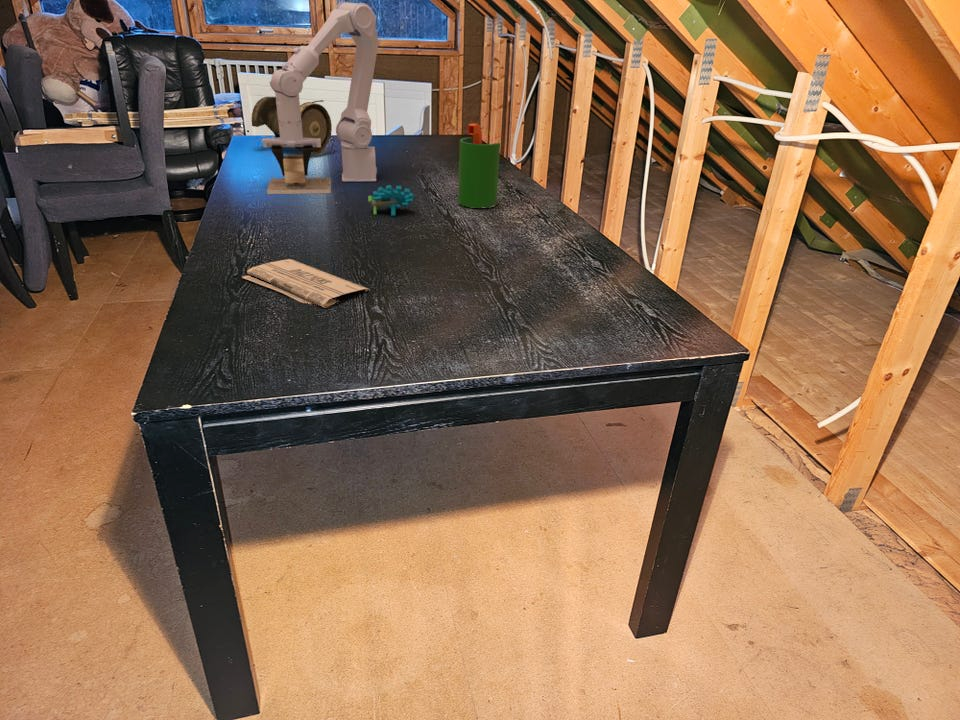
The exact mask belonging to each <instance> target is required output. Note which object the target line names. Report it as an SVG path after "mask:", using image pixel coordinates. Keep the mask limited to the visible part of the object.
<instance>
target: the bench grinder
mask: <svg viewBox="0 0 960 720" xmlns="http://www.w3.org/2000/svg"><path fill="white" fill-rule="evenodd" d="M320 102H321V103H324V100H323V99H322V100H314V101H307V102H304V103H302V104H300V112H301V122H302V133H303V137H305V138H320V139H321V147H313V151H312V154H320V153H322V151H324V150H325V148H327V146H328V145H329V142H330V140H331V136H332V130H333V129H332V119H331V116H330V114H329V112H328V111H327V109H326V108H325V107H324V106H323V105H321V104H319V103H320ZM251 126H252V127H254V128H255V127H256V128H258V127H261V126H266V127H267V128H268V129H269V130H270V131H271V132H272V133H273V134H274V138H278V137H280V132H279V123H278V114H277V105H276V96H264V97H262V98H260V99H259V100H257V102H256V103H255V105H254V106H253V108H252V113H251ZM294 148H295V149H299V150H303V147H294ZM270 150H272V147H270Z"/></svg>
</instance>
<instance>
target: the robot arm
mask: <svg viewBox="0 0 960 720" xmlns="http://www.w3.org/2000/svg"><path fill="white" fill-rule="evenodd" d="M335 7H336V8H334V9H333V10H331V11H330V14H329V16H328V18H327V19H326V21H325V22H324V23H323V25H322V26H321V27H320V29H318V31H317V33H315V35H314V36H313V38H312V39H311V41H310V42H309V44H308V45H300V46H299V47H295V48H294V49H293V50H292V52H293V54H292V56H290V57H289V59H288V60H287V61H286V62H284V63H282V64H281V69H277V70H275V71H274V72H273V73H272V75H271V79H270V81H269V85H270V86H269V87H270V88H271V89H272V91H273V92H274V94H275V97H276V105H277V114H278V123H279V132H280V137H278V138H275V137H263V138H262V140H261V141H262V147H263V148H269V147H270V148H271V147H272V149H271V152H272V154H273V156H274V157H275V159H276V160H277V163H278V165H279V167H280V169H281V174H282V176H283V177H285V173H284V164H283V158H284V155H285V154H284V148H286V147H287V148H289V147H290V148H291V147H292V148H295V147H303V149H302V155H303V157H304V173H305V176H306V177H307V176H308V174H309V173H308V171H309V169H308V168H309V163H310V160H311V159H310V158H311V157H312V154H313V152H312V151H313V147H321V139H320V138H305V137H303V133H302V122H301V112H300V105H301V102H300V93H302V91H303V88H304V86H303V85H304V82H305V81H306V79H307V78H309V76H310V75H311V74H312V72H313V71H314V70H315V69H316V68H317V67H318V65H319V63H320V59H319V56H320V55H321V54H322V53H323V52H324V51H325V50H326V49H327V48H328V47H329V46H330V45H331V44H332V42H334V41H335V40H336V39H337V37H338V36H340V35H342V34H348V35H349V36H350V37H351V39H352V41H353V42H354V44H355V45H356V48H355V54H354V61H353V67H352V74H351V80H350V86H349V93H348V98H347V99H348V100H347V104H346V105H347V106H346V107H345V109H344V110H343V111H342V112H341V114H340V118H339V121H338V122H337V124H336V127H335V133H336V137H337V138H338V139H339V140H340V147H341V161H342V173H341V182H345V183H346V182H347V183H348V182H377V174H378V167H377V166H376V165H377V164H376V163H377V162H376V161H377V160H376V149H375V148H376V147H375V146H369V144H370V143H371V141H372V140H373V139H372V138H373V133H372V128H371V126H372V120H371V118H370V117H371V116H369V113H368V108H369V102H370V96H371V91H372V85H373V79H374V72H375V67H376V60H377V55H378V47H379V37H378V32H377V27H376V24H377V18H378V17H377V15H376V14H375V13H374V11H373V9H372V8H371V7H370V6H369V4H367V3H364V2H359V3H357V2H349V1H342V2H339V3H338V4H337V5H336V6H335Z"/></svg>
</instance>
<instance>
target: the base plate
mask: <svg viewBox="0 0 960 720" xmlns="http://www.w3.org/2000/svg"><path fill="white" fill-rule="evenodd" d="M331 190H332V178H331V177H306V180H305V183H286V182H285V177H284V178H283V177H281V178H280V177H279V178H276V177H275V178H271V177H270V181H269V183H268V187H267V189H266V194H267V195H285V194H286V195H287V194H288V195H289V194H290V195H291V194H292V195H293V194H297V195H300V194H304V195H307V194H309V195H310V194H331V192H332V191H331Z"/></svg>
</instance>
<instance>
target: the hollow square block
mask: <svg viewBox="0 0 960 720" xmlns="http://www.w3.org/2000/svg"><path fill="white" fill-rule="evenodd" d="M283 155H284V158H283V164H284V173H285V176H284V178H285V182H286V183H305V180H306V178H307V176H305V173H304V157H303V154H283Z"/></svg>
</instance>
